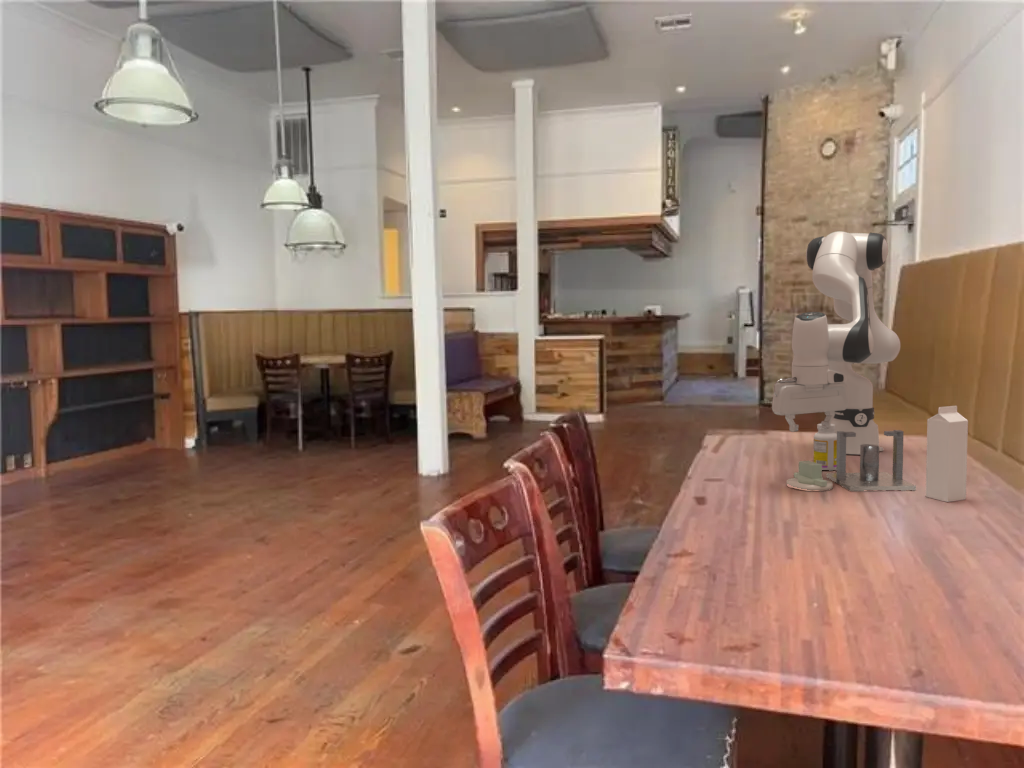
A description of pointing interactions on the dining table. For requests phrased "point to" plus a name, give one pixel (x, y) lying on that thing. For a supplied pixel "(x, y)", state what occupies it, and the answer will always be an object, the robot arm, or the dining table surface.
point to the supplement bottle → (826, 448)
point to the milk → (946, 455)
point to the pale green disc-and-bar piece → (810, 473)
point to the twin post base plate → (870, 466)
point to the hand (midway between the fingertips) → (810, 430)
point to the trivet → (795, 483)
